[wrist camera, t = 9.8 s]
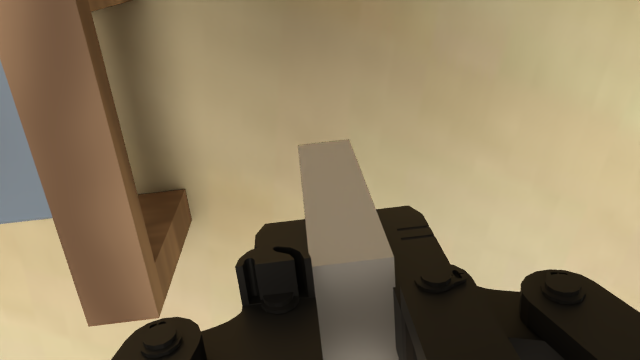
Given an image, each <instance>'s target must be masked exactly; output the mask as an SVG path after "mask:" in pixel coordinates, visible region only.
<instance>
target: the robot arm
mask: <svg viewBox="0 0 640 360" xmlns="http://www.w3.org/2000/svg"><path fill="white" fill-rule="evenodd" d="M298 150H299V161H300V171H301V181H302V191H303V201H304V212H305V219H303V220H294V221H286V222H277V223H269V224H265V225H264V226H263V227H262V228H261V229H260V231H259V232H258V233H257V234H256V236H255V249H253V250H250V251H248V252H247V253H246V254H244V255H243V256H242V257H241V258H240V259H239V260H238V262H237V264H236V266H235V268H236V273H237V279H238V284H239V290H240V295H241V300H242V312H241V313H240V314H239V315H237V316H236V317H234V318H233V319H231V320H230V321H228V322H226V323H224V324H221V325H219V326H216V327H213V328H210V329H208V330H205V331H202V332H201V331H200V329H199V326H198V325H197V324H196V323H195V322H193V321H192V320H190V319H186V318H180V317H173V318H163V319H160V320H157V321H154V322H151V323H148V324H146V325H145V326H143V327H141V328H139V329H138V330H136V331H135V332H134V333H133V334H132V335H131V336H130V337H129V338H128V339H127V340H126V341H125V342H124V343H123V344H122V346H121V347H120V349H119V350H118V351H117V353H116V354H115V355H114V357H113V358H112V359H111V360H640V312H638V311H637V310H635V309H634V308H632V307H631V306H629V305H628V304H626V303H625V302H624V301H622V300H621V299H619V298H618V297H616V296H615V295H613V294H612V293H610V292H609V291H607V290H606V289H605V288H603V287H602V286H600V285H599V284H597V283H596V282H594V281H592V280H590V279H588V278H586V277H584V276H582V275H580V274H576V273H573V272H569V271H565V270H543V271H536V272H534V273H532V274H530V275H528V276H526V277H525V279H524V280H523V281H522V283H521V291H520V292H513V291H501V290H492V289H486V288H482V287H479V286H477V285H476V284H475V282H474V280H473V279H472V277H471V276H470V275H469V274H468V273H467V272H466V271H465V270H463V269H461V268H459V267H457V266H455V265H451V264H450V263H449V261H448V259H447V257H446V255H445V254H444V252H443V250H442V248H441V246H440V245H439V243H438V241H437V239H436V238H435V237H434V234H433V232H432V230H431V229H430V227H429V225H428V223H427V221H426V220H425V218H424V216H423V214H421V213H420V212H418V211H417V210H415V209H413V208H412V207H410V206H401V207H393V208H384V209H375V206H374V203H373V201H372V198H371V195H370V193H369V190H368V188H367V185H366V182H365V180H364V177H363V175H362V172H361V169H360V167H359V164H358V161H357V159H356V156H355V154H354V151H353V148H352V146H351V143H350V141H349V139H348V140H339V141H330V142H321V143H312V144H303V145H298Z"/></svg>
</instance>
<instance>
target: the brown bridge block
mask: <svg viewBox="0 0 640 360" xmlns="http://www.w3.org/2000/svg"><path fill="white" fill-rule="evenodd" d="M128 1H131V0H0V60H1V63H2V66H3V69H4V72H5V75H6V78H7V81H8V84H9V87H10V90H11V93H12V96H13V100H14V103H15V106H16V109H17V112H18V115H19V118H20V121H21V124H22V127H23V130H24V133H25V136H26V139H27V142H28V145H29V148H30V151H31V154H32V157H33V160H34V163H35V166H36V169H37V172H38V175H39V178H40V181H41V184H42V187H43V190H44V193H45V196H46V199H47V202H48V205H49V208H50V211H51V214H52V217H53V220H54V223H55V226H56V230H57V233H58V236H59V239H60V242H61V245H62V248H63V251H64V254H65V257H66V260H67V263H68V266H69V269H70V272H71V275H72V278H73V281H74V284H75V287H76V290H77V293H78V296H79V299H80V302H81V305H82V308H83V311H84V314H85V317H86V320H87V323H88V326H97V325H105V324H113V323H121V322H129V321H138V320H146V319H154V318H159V316H160V313H161V310H162V307H163V304H164V301H165V299H166V296H167V293H168V290H169V287H170V284H171V281H172V278H173V275H174V272H175V269H176V266H177V263H178V260H179V257H180V254H181V251H182V248H183V245H184V242H185V239H186V236H187V233H188V230H189V227H190V224H191V221H192V219H191V214H190V209H189V205H188V200H187V195H186V191H185V189H182V190H173V191H165V192H156V193H147V194H138V195H137V191H136V187H135V183H134V179H133V175H132V171H131V167H130V163H129V159H128V155H127V151H126V147H125V143H124V139H123V136H122V132H121V128H120V124H119V120H118V116H117V112H116V108H115V104H114V100H113V96H112V92H111V88H110V84H109V81H108V77H107V73H106V69H105V65H104V61H103V57H102V53H101V49H100V45H99V41H98V37H97V33H96V29H95V26H94V22H93V18H92V14H91V12H92V11H95V10H99V9H102V8H106V7H110V6H113V5H117V4H120V3H124V2H128Z"/></svg>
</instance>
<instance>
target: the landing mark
mask: <svg viewBox="0 0 640 360" xmlns="http://www.w3.org/2000/svg"><path fill="white" fill-rule="evenodd" d="M48 218H53V217H52V214H51V211H50V208H49V205H48V202H47V199H46V196H45V193H44V190H43V187H42V184H41V181H40V178H39V175H38V172H37V169H36V166H35V163H34V160H33V157H32V154H31V151H30V148H29V145H28V142H27V139H26V136H25V133H24V130H23V127H22V124H21V121H20V118H19V115H18V112H17V109H16V106H15V103H14V100H13V96H12V93H11V90H10V87H9V84H8V81H7V78H6V75H5V72H4V69H3V66H2V63H1V60H0V224H4V223H13V222H22V221H30V220H39V219H48Z"/></svg>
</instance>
